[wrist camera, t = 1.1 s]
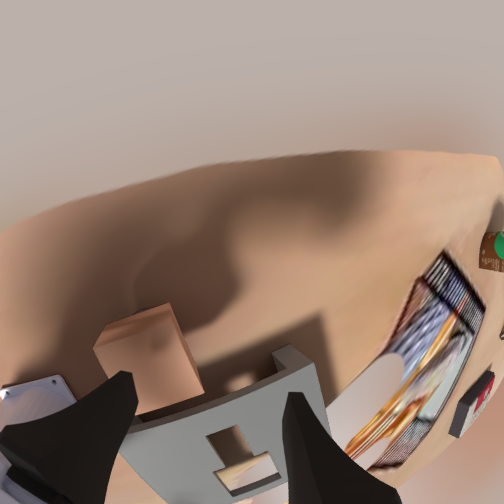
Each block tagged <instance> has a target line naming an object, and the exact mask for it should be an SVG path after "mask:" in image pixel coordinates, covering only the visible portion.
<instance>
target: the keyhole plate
mask: <svg viewBox="0 0 504 504" xmlns="http://www.w3.org/2000/svg"><path fill="white" fill-rule="evenodd" d="M271 354H272V357H273V360H274V363H275V366H276V369H277V372H278V373H276V374H274V375H272V376H270V377H268V378H265V379H263V380H261V381H259V382H256V383H254V384H252V385H250V386H247V387H245V388H242V389H240V390H238V391H235V392H233V393H230V394H228V395H225V396H223V397H220V398H218V399H215V400H212V401H210V402H207V403H204V404H202V405H199V406H196V407H193V408H190V409H187V410H184V411H181V412H178V413H175V414H172V415H169V416H166V417H163V418H159V419H156V420H152V421H149V422H145V423H143V422H142V421H141V419H140V418H139V416H138V415H135V416H134V419H133V421H132V423H131V425H130V428H129V430H128V432H127V434H126V436H125V438H124V440H123V442H122V444H121V446H120V449H119V451H118V452H119V454H120V455H121V456H122V457H123V458H124V459H125V461H126V462H127V463H128V464H129V465H130V466H131V467H132V468H133V469H134V471H135V472H136V473H137V474H138V475H139V476H140V477H141V478H142V479H143V480H144V481H145V482H146V483H147V484H148V485H149V486H150V487H151V488H152V489H153V490H154V491H155V492H156V493H157V494H158V495H159V496H160V497H161V498H162V499H163V500H165V501H166V502H167V503H168V504H232V503H235V502H238V501H241V500H244V499H247V498H250V497H252V496H255V495H257V494H260V493H263V492H265V491H267V490H270V489H272V488H275V487H277V486H279V485H281V484H284V483H286V482H288V475H287V468H286V461H285V454H284V447H283V440H282V417H283V413H284V409H285V405H286V401H287V396H288V392H303V393H304V395H305V397H306V399H307V401H308V403H309V405H310V406H311V408H312V410H313V412H314V413H315V415H316V416H317V418H318V420H319V421H320V422H321V424H322V425H323V427H324V428H325V430H326V431H327V432H328V434H329V435H330V436H331V432H330V427H329V423H328V419H327V415H326V410H325V405H324V401H323V397H322V393H321V389H320V384H319V380H318V376H317V372H316V368H315V364H314V362H313V361H312V360H310V359H309V358H308V357H306V356H305V355H304V354H303V353H301V352H300V351H299V350H297V349H296V348H295V347H294V346H292V345H291V344H289V345H286V346H284V347H282V348H280V349H278V350H276V351H274V352H271ZM236 424H237V425H238V427H239V429H240V431H241V433H242V435H243V437H244V438H245V440H246V442H247V444H248V446H249V448H250V449H251V451H252V453H253V455H254V456H256V455H259V454H261V453H263V452H266V451H268V453H269V455H270V457H271V459H272V461H273V463H274V465H275V467H276V469H277V471H278V472H277V473H275V474H273V475H271V476H268V477H266V478H264V479H261V480H259V481H256V482H254V483H251V484H249V485H246V486H243V487H240V488H238V489H235V490H232V491H230V490H229V489H228V488H227V487H226V485H225V484H224V483H223V482H222V480H221V479H220V478H219V477H218V475H217V474H216V473H215V471H216V470H219V469H222V468H225V464H224V462H223V460H222V458H221V457H220V455H219V454H218V452H217V451H216V449H215V448H214V446H213V444H212V443H211V441H210V440H209V438H208V437H207V435H210V434H212V433H215V432H218V431H221V430H223V429H226V428H229V427H231V426H234V425H236ZM331 438H332V436H331Z"/></svg>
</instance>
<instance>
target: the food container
mask: <svg viewBox="0 0 504 504" xmlns="http://www.w3.org/2000/svg"><path fill="white" fill-rule="evenodd" d="M479 268H482V269H487V270H493V271H498V272H504V231H501V232H487V233H485V235H484V236H483V239H482V242H481V246H480V254H479Z"/></svg>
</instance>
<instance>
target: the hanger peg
mask: <svg viewBox="0 0 504 504" xmlns="http://www.w3.org/2000/svg"><path fill="white" fill-rule="evenodd" d="M93 350H94V352H95V354H96V356H97V358H98V360H99V362H100V364H101V366H102V368H103V369H104V371H105V373H106V375H107V377H108V378H109V379H110V378H111V377H112V376H114V375H115V374H116V373H118V372H119V371H120V370H122V371H127V372H131V373H132V374H133V379H134V383H135V388H136V392H137V396H138V400H139V403H138V407H137V410H136V413H135V415H139V414H142V413H146V412H149V411H152V410H156V409H159V408H162V407H165V406H168V405H172V404H175V403H178V402H181V401H183V400H186V399H189V398H192V397H195V396H198V395H200V394H203V393H204V390H203V386H202V383H201V380H200V377H199V374H198V371H197V368H196V364H195V362H194V359H193V357H192V355H191V353H190V350H189V348H188V346H187V344H186V341H185V339H184V337H183V334H182V332H181V330H180V327H179V325H178V322H177V320H176V318H175V315H174V313H173V310H172V308H171V305H170V303H166V304H163V305H160V306H158V307H155V308H146V309H142V310H140V311H138V312H137V313H135V314H134V315H132V316H129V317H127V318H124V319H121V320H118V321H115V322H112V323H110V324H107V325H106V326H105V328H104V329H103V331H102V333H101V335H100V336H99V338H98V340H97V342H96V343H95V345H94V347H93Z"/></svg>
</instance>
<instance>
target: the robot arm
mask: <svg viewBox="0 0 504 504" xmlns="http://www.w3.org/2000/svg"><path fill="white" fill-rule="evenodd" d="M53 380H55V381H56V383H55V382H54V381H53ZM7 391H8V392H9V393H8V392H7ZM0 396H1V398H2V399H3V400H2V402H1V403H0V504H104V502H105V497H106V492H107V487H108V483H109V479H110V475H111V471H112V468H113V464H114V461H115V458H116V456H117V453H118V451H119V449H120V446H121V444H122V442H123V440H124V438H125V436H126V434H127V432H128V430H129V428H130V425H131V423H132V421H133V419H134V416H135V413H136V410H137V407H138V403H139V400H138V396H137V392H136V388H135V383H134V379H133V374H132V373H131V372H127V371H122V370H120V371H119V372H118V373H116V374H115V375H114V376H112V377H111V378H110V379H108V380H107V381H106V382H104V383H103V384H102V385H101V386H99V387H98V388H96V389H95V390H94V391H92V392H91V393H89V394H88V395H86V396H85V397H83V398H82V399H80V400H79V401H76V399H75V397H74V396H73V394H72V393H71V391H70V389H69V388H68V386H67V384H66V383H65V381H64V379H63V378H62V377H61V376H60V375H54V376H50V377H47V378H43V379H39V380H35V381H31V382H27V383H23V384H19V385H15V386H11V387H7V388H2V389H0ZM282 440H283V447H284V454H285V461H286V468H287V475H288V489H289V504H402V502H401V499H400V496H399V494H398V492H397V490H396V489H395V488H393V487H391V486H389V485H387V484H385V483H384V482H382V481H380V480H378V479H377V478H375V477H374V476H372V475H371V474H369V473H368V472H367V471H365V470H364V469H363V468H362V467H360V466H359V465H358V464H357V463H355V462H354V461H353V460H352V459H351V458H350V457H349V456H348V455H347V454H346V453H345V452H344V451H343V450H342V449H341V448H340V447H339V446H338V445H337V444H336V442H335V441H334V440H333V439H332V438H331V436H330V435H329V434H328V432H327V431H326V430H325V428H324V427H323V425H322V424H321V422H320V421H319V420H318V418H317V416H316V415H315V413H314V412H313V410H312V408H311V406H310V405H309V403H308V401H307V399H306V397H305V395H304V393H303V392H288V396H287V401H286V405H285V409H284V413H283V417H282Z"/></svg>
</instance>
